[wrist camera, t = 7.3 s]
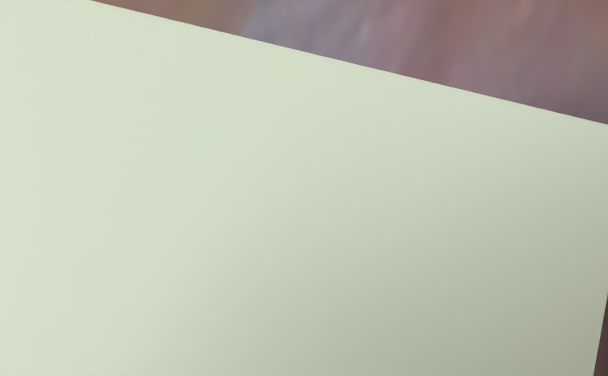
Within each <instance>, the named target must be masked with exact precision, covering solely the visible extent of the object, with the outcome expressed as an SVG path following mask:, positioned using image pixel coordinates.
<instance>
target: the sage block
mask: <svg viewBox="0 0 608 376" xmlns="http://www.w3.org/2000/svg"><path fill="white" fill-rule="evenodd" d="M607 295H608V125H606V124H602V123H598V122H593V121H589V120H585V119H581V118H577V117H573V116H569V115H564V114H560V113H556V112H552V111H548V110H544V109H539V108H535V107H531V106H527V105H523V104H519V103H514V102H510V101H506V100H502V99H498V98H494V97H490V96H485V95H481V94H477V93H473V92H469V91H465V90H460V89H456V88H452V87H448V86H444V85H440V84H435V83H431V82H427V81H423V80H419V79H415V78H410V77H406V76H402V75H398V74H394V73H390V72H386V71H381V70H377V69H373V68H369V67H365V66H361V65H356V64H352V63H348V62H344V61H340V60H336V59H331V58H327V57H323V56H319V55H315V54H311V53H307V52H302V51H298V50H294V49H290V48H286V47H282V46H277V45H273V44H269V43H265V42H261V41H257V40H252V39H248V38H244V37H240V36H236V35H232V34H228V33H223V32H219V31H215V30H211V29H207V28H203V27H198V26H194V25H190V24H186V23H182V22H178V21H173V20H169V19H165V18H161V17H157V16H153V15H148V14H144V13H140V12H136V11H132V10H128V9H124V8H119V7H115V6H111V5H107V4H103V3H99V2H94V1H90V0H0V376H593V375H594V369H595V363H596V358H597V352H598V346H599V341H600V335H601V329H602V324H603V318H604V312H605V307H606V301H607Z"/></svg>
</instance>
